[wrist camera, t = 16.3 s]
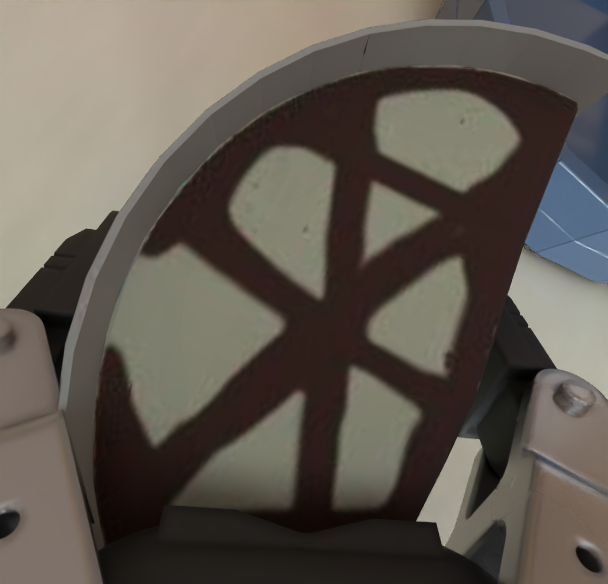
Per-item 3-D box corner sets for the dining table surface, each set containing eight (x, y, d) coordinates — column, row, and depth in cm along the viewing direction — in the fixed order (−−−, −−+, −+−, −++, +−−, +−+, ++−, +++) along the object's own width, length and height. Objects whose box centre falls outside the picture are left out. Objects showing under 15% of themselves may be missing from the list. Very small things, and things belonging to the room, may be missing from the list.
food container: (268, 150, 16) (295, -161, 6) (407, 223, 16) (646, 40, 6) (103, 453, 14) (-257, 721, 4) (267, 530, 14) (304, 945, 4)
